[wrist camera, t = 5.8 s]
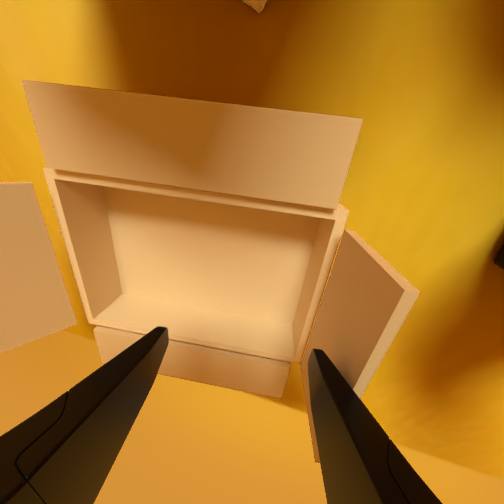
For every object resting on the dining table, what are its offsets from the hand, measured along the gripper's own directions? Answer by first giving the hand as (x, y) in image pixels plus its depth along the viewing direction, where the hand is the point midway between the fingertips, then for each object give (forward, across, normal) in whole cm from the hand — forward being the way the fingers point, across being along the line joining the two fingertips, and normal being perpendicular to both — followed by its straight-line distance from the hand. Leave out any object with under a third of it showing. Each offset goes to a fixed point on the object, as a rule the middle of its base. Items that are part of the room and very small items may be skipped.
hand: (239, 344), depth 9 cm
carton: (+8, +3, 0) cm, 9 cm away
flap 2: (+1, -4, 0) cm, 4 cm away
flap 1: (+2, +13, 0) cm, 13 cm away
